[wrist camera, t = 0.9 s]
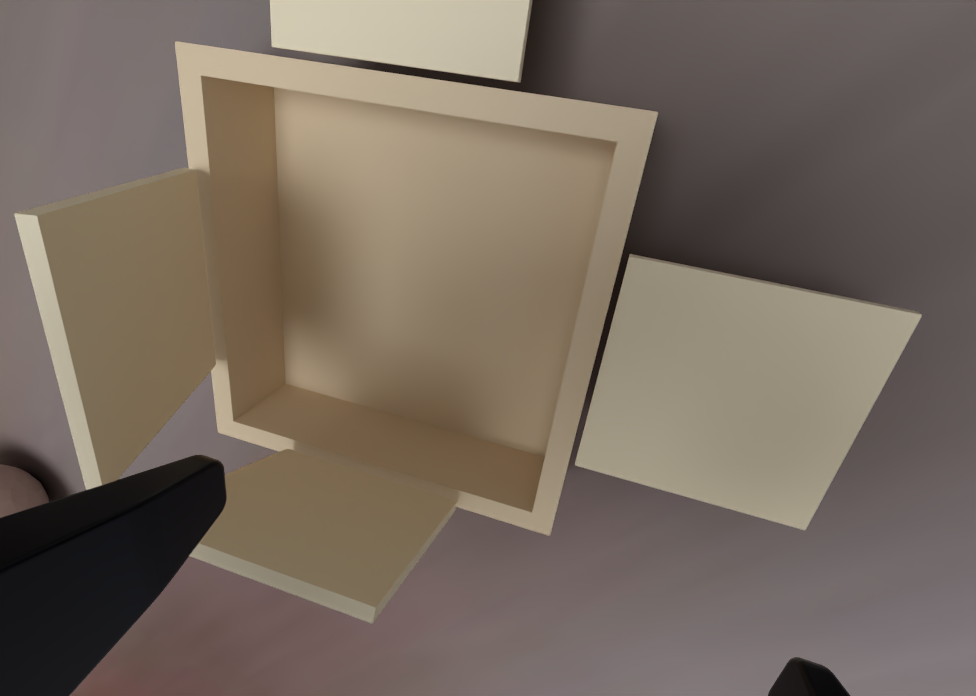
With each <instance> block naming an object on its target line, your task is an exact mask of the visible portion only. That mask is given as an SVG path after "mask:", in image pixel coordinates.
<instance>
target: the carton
mask: <svg viewBox="0 0 976 696" xmlns="http://www.w3.org/2000/svg"><path fill="white" fill-rule="evenodd" d="M531 7H532V0H270V12H271V38H272V47H275V48H280V49H287V50H294V51H301V52H308V53H315V54H322V55H329V56H336V57H343V58H350V59H357V60H364V61H371V62H378V63H385V64H392V65H399V66H406V67H413V68H420V69H427V70H434V71H441V72H448V73H455V74H462V75H469V76H476V77H483V78H490V79H497V80H504V81H511V82H518V83H520V82H521V76H522V69H523V62H524V55H525V48H526V41H527V35H528V28H529V21H530V14H531ZM175 48H176V57H177V66H178V75H179V84H180V93H181V102H182V111H183V120H184V129H185V138H186V147H187V157H188V166H189V169H196V175H197V184H198V194H199V203H200V213H201V223H202V232H203V242H204V251H205V261H206V270H207V280H208V289H209V299H210V308H211V318H212V328H213V337H214V347H215V356H216V365H215V367H214V368H213V369H212V370H211V374H212V383H213V392H214V401H215V410H216V419H217V428H218V433H222V434H225V435H228V436H231V437H234V438H238V439H241V440H244V441H247V442H250V443H254V444H257V445H260V446H263V447H266V448H270V449H273V450H276V451H279V452H280V451H283V450H285V449H291V450H294V451H297V452H300V453H303V454H307V455H310V456H313V457H316V458H320V459H323V460H326V461H329V462H332V463H336V464H339V465H342V466H345V467H349V468H352V469H355V470H358V471H362V472H365V473H368V474H371V475H374V476H378V477H381V478H384V479H387V480H391V481H394V482H397V483H400V484H403V485H407V486H410V487H413V488H416V489H420V490H423V491H426V492H429V493H433V494H436V495H439V496H442V497H445V498H449V499H452V500H455V501H457V504H456V507H459V508H462V509H465V510H468V511H471V512H475V513H478V514H481V515H484V516H487V517H491V518H494V519H497V520H500V521H503V522H507V523H510V524H513V525H516V526H519V527H523V528H526V529H529V530H532V531H535V532H539V533H542V534H545V535H548V536H550V533H551V529H552V526H553V522H554V518H555V514H556V510H557V506H558V502H559V498H560V494H561V490H562V486H563V483H564V479H565V475H566V471H567V467H568V463H569V459H570V455H571V451H572V447H573V443H574V440H575V436H576V432H577V428H578V424H579V420H580V416H581V412H582V408H583V404H584V400H585V397H586V393H587V389H588V385H589V381H590V377H591V373H592V369H593V365H594V361H595V357H596V354H597V350H598V346H599V342H600V338H601V334H602V330H603V326H604V322H605V318H606V314H607V311H608V307H609V303H610V299H611V295H612V291H613V287H614V283H615V279H616V275H617V271H618V268H619V264H620V260H621V256H622V252H623V248H624V244H625V240H626V236H627V232H628V228H629V225H630V221H631V217H632V213H633V209H634V205H635V201H636V197H637V193H638V189H639V186H640V182H641V178H642V174H643V170H644V166H645V162H646V158H647V154H648V150H649V146H650V143H651V139H652V135H653V131H654V127H655V123H656V119H657V115H658V112H655V111H649V110H642V109H635V108H628V107H621V106H614V105H608V104H601V103H594V102H587V101H580V100H573V99H567V98H560V97H553V96H546V95H539V94H532V93H526V92H519V91H512V90H505V89H498V88H491V87H485V86H478V85H471V84H464V83H457V82H450V81H444V80H437V79H430V78H423V77H416V76H409V75H403V74H396V73H389V72H382V71H375V70H368V69H362V68H355V67H348V66H341V65H334V64H327V63H320V62H314V61H307V60H300V59H293V58H286V57H279V56H273V55H266V54H259V53H252V52H245V51H238V50H232V49H225V48H218V47H211V46H204V45H197V44H191V43H184V42H177V41H175ZM921 317H922V314H920V313H919V312H917V311H914V310H909V309H904V308H899V307H894V306H889V305H884V304H879V303H874V302H869V301H864V300H859V299H854V298H849V297H844V296H839V295H834V294H829V293H824V292H819V291H814V290H809V289H804V288H799V287H794V286H789V285H784V284H779V283H774V282H769V281H764V280H759V279H754V278H749V277H744V276H739V275H734V274H728V273H723V272H718V271H713V270H708V269H703V268H698V267H693V266H688V265H683V264H678V263H673V262H668V261H663V260H658V259H653V258H648V257H643V256H638V255H633V254H630V255H629V259H628V263H627V266H626V270H625V274H624V278H623V282H622V285H621V289H620V293H619V297H618V301H617V304H616V308H615V312H614V316H613V320H612V323H611V327H610V331H609V335H608V339H607V343H606V346H605V350H604V354H603V358H602V362H601V365H600V369H599V373H598V377H597V381H596V384H595V388H594V392H593V396H592V400H591V403H590V407H589V411H588V415H587V419H586V423H585V426H584V430H583V434H582V438H581V442H580V445H579V449H578V453H577V457H576V461H575V465H576V466H579V467H583V468H586V469H590V470H593V471H597V472H600V473H604V474H607V475H611V476H614V477H618V478H622V479H625V480H629V481H632V482H636V483H639V484H643V485H646V486H650V487H653V488H657V489H660V490H664V491H667V492H671V493H675V494H678V495H682V496H685V497H689V498H692V499H696V500H699V501H703V502H706V503H710V504H713V505H717V506H721V507H724V508H728V509H731V510H735V511H738V512H742V513H745V514H749V515H752V516H756V517H759V518H763V519H766V520H770V521H774V522H777V523H781V524H784V525H788V526H791V527H795V528H798V529H802V530H806V528H807V526H808V524H809V522H810V521H811V519H812V517H813V515H814V513H815V511H816V510H817V508H818V506H819V504H820V502H821V500H822V499H823V497H824V495H825V493H826V491H827V489H828V487H829V486H830V484H831V482H832V480H833V478H834V476H835V475H836V473H837V471H838V469H839V467H840V465H841V464H842V462H843V460H844V458H845V456H846V454H847V453H848V451H849V449H850V447H851V445H852V443H853V442H854V440H855V438H856V436H857V434H858V432H859V431H860V429H861V427H862V425H863V423H864V421H865V420H866V418H867V416H868V414H869V412H870V410H871V408H872V407H873V405H874V403H875V401H876V399H877V397H878V396H879V394H880V392H881V390H882V388H883V386H884V385H885V383H886V381H887V379H888V377H889V375H890V374H891V372H892V370H893V368H894V366H895V364H896V363H897V361H898V359H899V357H900V355H901V353H902V352H903V350H904V348H905V346H906V344H907V342H908V340H909V339H910V337H911V335H912V333H913V331H914V329H915V328H916V326H917V324H918V322H919V320H920V318H921Z"/></svg>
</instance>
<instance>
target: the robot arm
mask: <svg viewBox="0 0 976 696" xmlns="http://www.w3.org/2000/svg"><path fill="white" fill-rule="evenodd" d="M226 500H227V493H226V483H225V473H224V466H223V464H222V463H221V462H220V461H218V460H216V459H213V458H210V457H207V456H204V455H194V456H191V457H188V458H185V459H182V460H178V461H175V462H172V463H169V464H166V465H163V466H160V467H157V468H154V469H150V470H147V471H144V472H141V473H138V474H135V475H132V476H129V477H126V478H122V479H119V480H116V481H113V482H110V483H107V484H104V485H101V486H98V487H94V488H91V489H88V490H85V491H82V492H79V493H76V494H73V495H70V496H66V497H63V498H60V499H57V500H54V501H51V502H48V503H45V504H41V505H38V506H35V507H32V508H29V509H26V510H23V511H20V512H17V513H13V514H10V515H7V516H4V517H1V518H0V696H69V695H70V694H71V693H72V692H73V691H74V690H75V689H76V688H77V687H78V685H79V684H80V683H81V682H82V681H83V680H84V679H85V678H86V677H87V675H88V674H89V673H90V672H91V671H92V670H93V669H94V668H95V666H96V665H97V664H98V663H99V662H100V661H101V660H102V659H103V658H104V656H105V655H106V654H107V653H108V652H109V651H110V650H111V649H112V648H113V646H114V645H115V644H116V643H117V642H118V641H119V640H120V639H121V637H122V636H123V635H124V634H125V633H126V632H127V631H128V630H129V629H130V627H131V626H132V625H133V624H134V623H135V622H136V621H137V620H138V618H139V617H140V616H141V615H142V614H143V613H144V612H145V611H146V610H147V608H148V607H149V606H150V605H151V604H152V603H153V602H154V600H155V599H156V598H157V597H158V596H159V595H160V593H161V592H162V591H163V590H164V588H165V587H166V586H167V585H168V583H169V582H170V581H171V580H172V578H173V577H174V576H175V574H176V573H177V572H178V570H179V569H180V568H181V566H182V565H183V564H184V562H185V561H186V560H187V558H188V557H189V556H190V554H191V553H192V552H193V550H194V549H195V548H196V546H197V545H198V544H199V542H200V541H201V540H202V538H203V537H204V536H205V534H206V533H207V532H208V530H209V529H210V527H211V526H212V525H213V523H214V522H215V521H216V519H217V518H218V517H219V515H220V514H221V513H222V511H223V509H224V507H225V504H226ZM768 696H850V695H849V693H848V692H847V691H846V690H845V688H844V687H843V686H842V684H841V683H840V682H839V680H838V679H837V678H836V676H835V675H834V674H833V673H832V672H831V671H830V670H829V669H828V668H826V667H825V666H822V665H820V664H817V663H814V662H811V661H808V660H805V659H802V658H799V657H795V658H792V659H790V660H789V662H788V663H787V664H786V666H785V668H784V669H783V671H782V672H781V674H780V675H779V677H778V678H777V680H776V682H775V683H774V685H773V686H772V688H771V689H770V691H769V694H768Z"/></svg>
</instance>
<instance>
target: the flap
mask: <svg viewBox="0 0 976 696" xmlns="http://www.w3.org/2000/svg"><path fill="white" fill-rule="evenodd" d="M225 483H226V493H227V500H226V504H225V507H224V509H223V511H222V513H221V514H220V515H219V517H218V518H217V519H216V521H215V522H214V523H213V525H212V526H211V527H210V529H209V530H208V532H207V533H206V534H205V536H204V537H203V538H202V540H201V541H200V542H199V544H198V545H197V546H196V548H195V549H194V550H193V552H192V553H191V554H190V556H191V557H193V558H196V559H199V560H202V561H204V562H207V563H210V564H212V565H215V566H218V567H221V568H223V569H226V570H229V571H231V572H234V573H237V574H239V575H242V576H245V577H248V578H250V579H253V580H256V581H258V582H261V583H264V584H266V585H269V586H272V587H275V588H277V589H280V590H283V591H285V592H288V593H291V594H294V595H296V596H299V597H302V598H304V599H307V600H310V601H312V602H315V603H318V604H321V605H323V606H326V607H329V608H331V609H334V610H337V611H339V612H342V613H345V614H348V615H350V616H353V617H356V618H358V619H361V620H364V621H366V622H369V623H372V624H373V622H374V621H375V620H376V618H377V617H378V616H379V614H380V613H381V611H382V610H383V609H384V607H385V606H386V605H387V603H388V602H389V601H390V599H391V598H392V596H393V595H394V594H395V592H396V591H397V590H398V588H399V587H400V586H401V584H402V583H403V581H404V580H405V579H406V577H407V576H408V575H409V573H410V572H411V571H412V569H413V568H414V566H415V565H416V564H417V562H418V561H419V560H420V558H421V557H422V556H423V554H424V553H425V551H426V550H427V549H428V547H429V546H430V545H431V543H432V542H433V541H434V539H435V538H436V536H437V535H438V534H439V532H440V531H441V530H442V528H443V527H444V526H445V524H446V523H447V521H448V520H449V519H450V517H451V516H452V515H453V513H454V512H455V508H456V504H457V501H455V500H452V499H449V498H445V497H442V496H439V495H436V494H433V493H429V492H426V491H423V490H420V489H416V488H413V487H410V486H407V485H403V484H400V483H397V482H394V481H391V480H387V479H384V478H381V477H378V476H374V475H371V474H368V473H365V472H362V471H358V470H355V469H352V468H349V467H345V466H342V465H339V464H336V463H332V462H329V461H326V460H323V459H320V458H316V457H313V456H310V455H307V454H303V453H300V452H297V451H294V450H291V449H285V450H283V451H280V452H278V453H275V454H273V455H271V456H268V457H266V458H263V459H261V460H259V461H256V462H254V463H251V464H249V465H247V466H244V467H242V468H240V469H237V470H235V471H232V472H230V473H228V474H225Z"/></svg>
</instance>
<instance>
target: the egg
mask: <svg viewBox="0 0 976 696" xmlns="http://www.w3.org/2000/svg"><path fill="white" fill-rule="evenodd" d="M48 502H49V498H48V496H47V493H46V492H45V490H44V488H43V486H42V484H41V483H40V482H39V481H38V480H37V479H35V478H34V477H33V476H32V475H30V474H29V473H28V472H26V471H24V470H22V469H20V468H16V467H13V466H8V465H3V464H0V518H1V517H4V516H7V515H10V514H13V513H17V512H20V511H23V510H26V509H29V508H32V507H35V506H38V505H41V504H45V503H48Z"/></svg>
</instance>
